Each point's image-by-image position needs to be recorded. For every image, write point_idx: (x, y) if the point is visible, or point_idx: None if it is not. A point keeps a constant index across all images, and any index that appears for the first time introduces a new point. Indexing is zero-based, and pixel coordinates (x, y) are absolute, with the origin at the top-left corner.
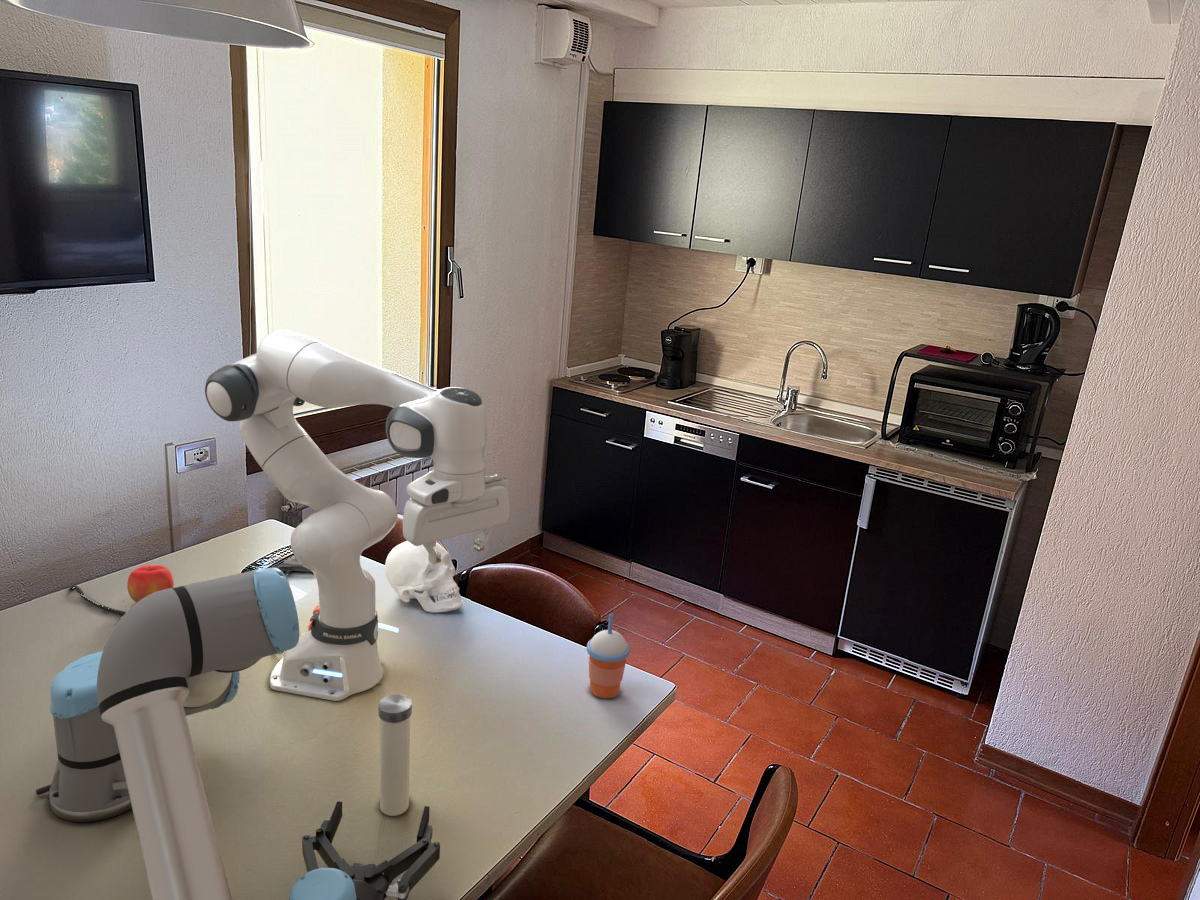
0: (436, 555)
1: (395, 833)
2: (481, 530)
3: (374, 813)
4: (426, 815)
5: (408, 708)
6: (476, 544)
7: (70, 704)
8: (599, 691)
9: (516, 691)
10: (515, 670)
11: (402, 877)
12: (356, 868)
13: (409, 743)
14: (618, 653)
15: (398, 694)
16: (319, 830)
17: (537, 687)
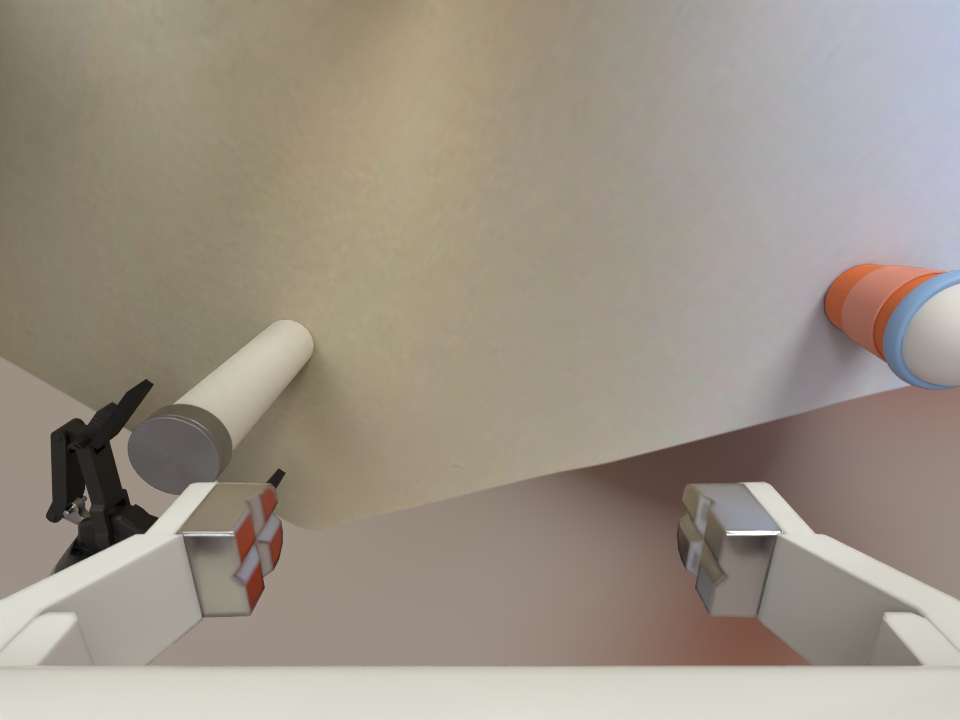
0: (199, 610)
1: None
2: (868, 658)
3: (251, 338)
4: None
5: None
6: (707, 547)
7: None
8: (833, 317)
9: (709, 171)
10: (780, 83)
11: None
12: (122, 530)
13: (260, 417)
14: (935, 384)
15: (195, 429)
16: (74, 447)
17: (759, 188)
